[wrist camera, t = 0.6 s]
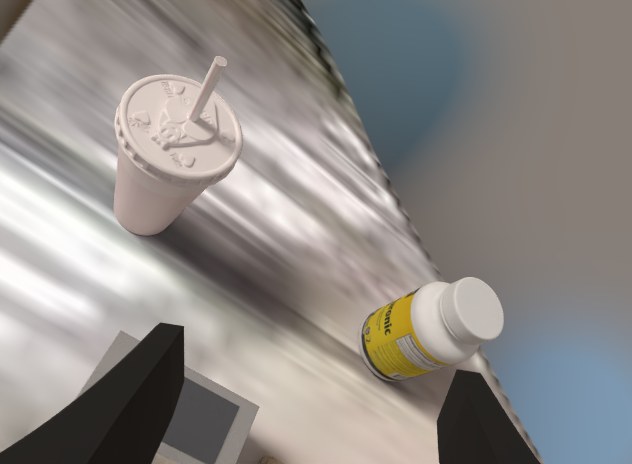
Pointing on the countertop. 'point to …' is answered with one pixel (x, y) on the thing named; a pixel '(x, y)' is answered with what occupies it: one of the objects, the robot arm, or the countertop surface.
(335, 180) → the countertop surface
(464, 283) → the supplement bottle
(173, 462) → the grey box
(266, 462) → the beige peg board
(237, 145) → the smoothie
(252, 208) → the countertop surface
